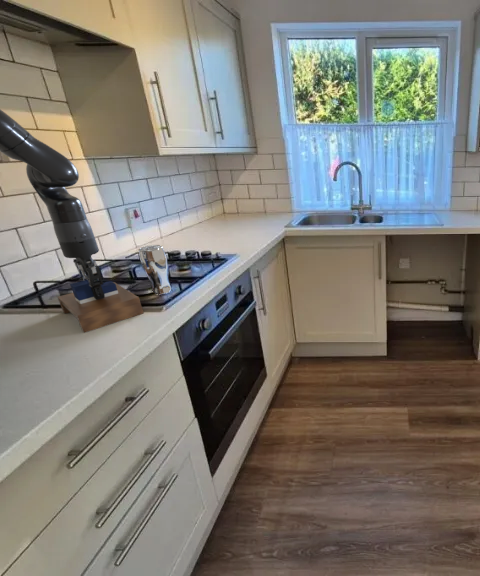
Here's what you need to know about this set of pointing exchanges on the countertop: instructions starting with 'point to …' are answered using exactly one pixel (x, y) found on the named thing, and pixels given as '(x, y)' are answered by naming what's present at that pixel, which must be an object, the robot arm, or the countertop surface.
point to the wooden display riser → (102, 309)
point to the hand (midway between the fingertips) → (97, 296)
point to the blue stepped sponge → (85, 292)
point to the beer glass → (156, 268)
